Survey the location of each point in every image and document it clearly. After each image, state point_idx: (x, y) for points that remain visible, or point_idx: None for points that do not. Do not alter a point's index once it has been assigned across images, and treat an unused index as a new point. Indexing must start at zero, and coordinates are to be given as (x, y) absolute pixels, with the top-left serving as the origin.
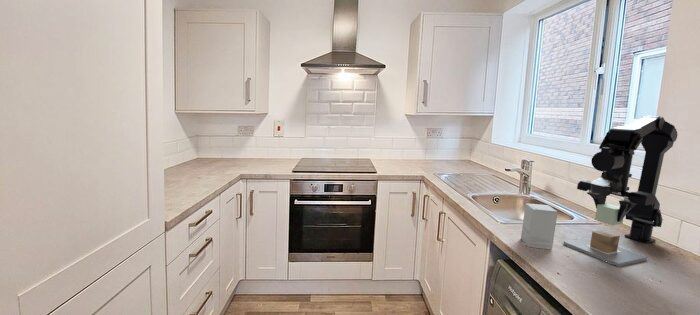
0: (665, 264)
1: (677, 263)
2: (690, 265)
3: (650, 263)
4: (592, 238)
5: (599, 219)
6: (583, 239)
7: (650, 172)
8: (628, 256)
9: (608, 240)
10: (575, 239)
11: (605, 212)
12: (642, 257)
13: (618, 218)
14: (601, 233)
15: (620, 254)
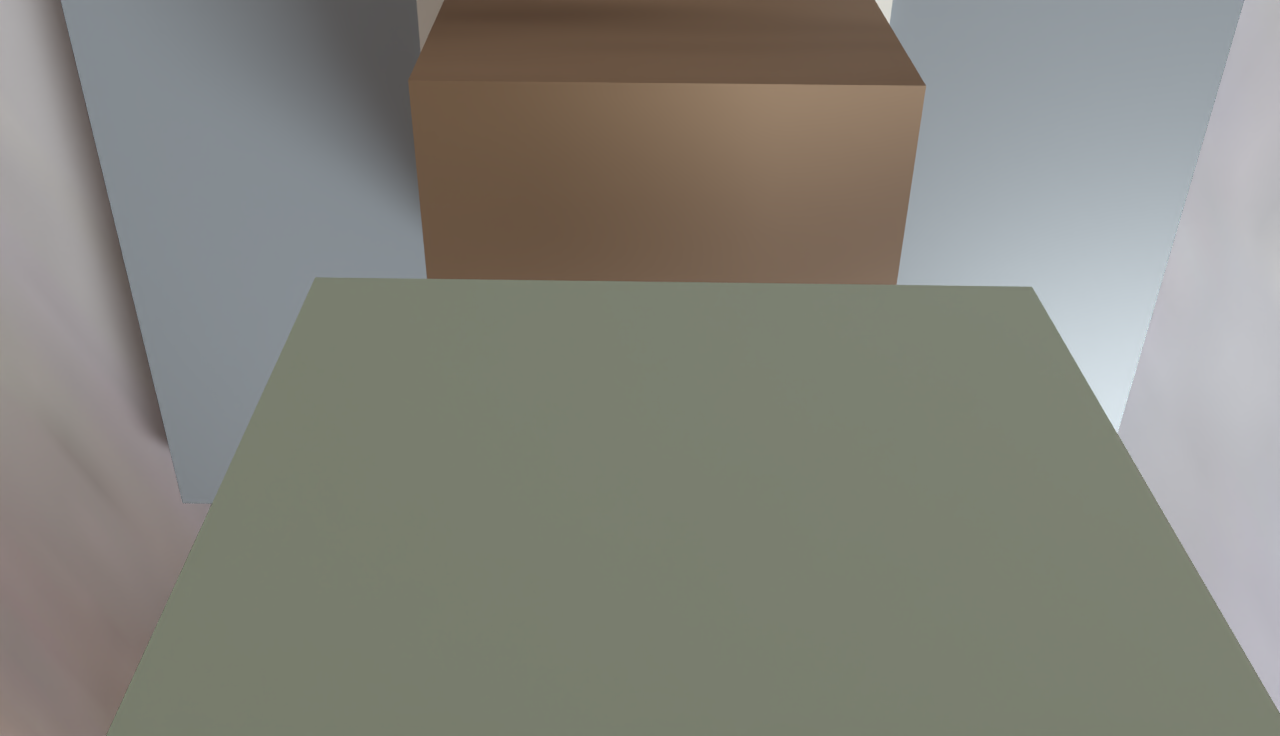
0: (43, 570)
1: (60, 732)
2: None
3: (93, 408)
4: (854, 17)
5: (862, 329)
6: (1117, 243)
7: None
8: (254, 232)
9: (446, 44)
10: (1224, 64)
11: (681, 622)
12: (178, 422)
13: None
14: (709, 181)
15: (360, 182)
